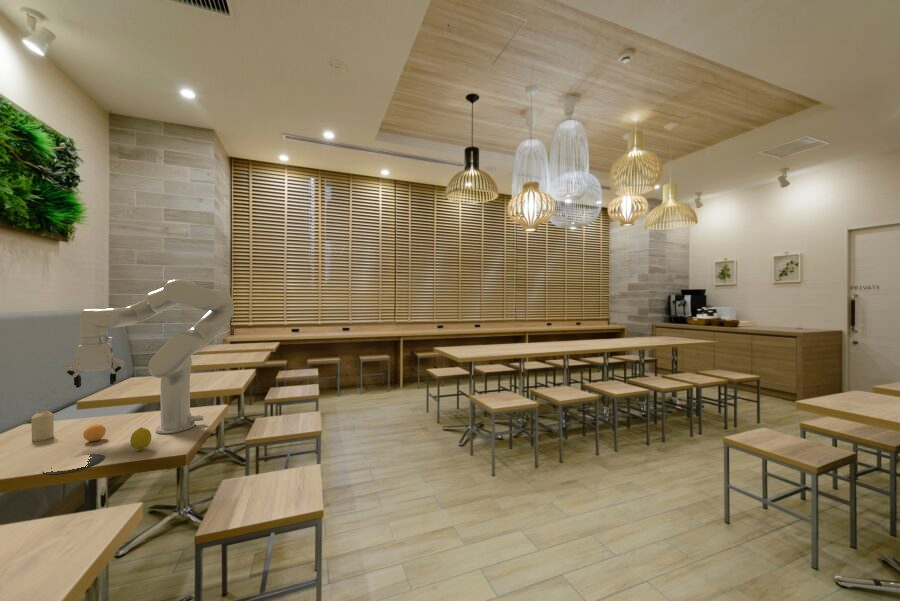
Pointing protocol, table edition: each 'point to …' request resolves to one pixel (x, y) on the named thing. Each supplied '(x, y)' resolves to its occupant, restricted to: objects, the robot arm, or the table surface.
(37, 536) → the table surface
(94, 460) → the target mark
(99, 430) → the ball
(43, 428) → the candle
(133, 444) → the lemon
